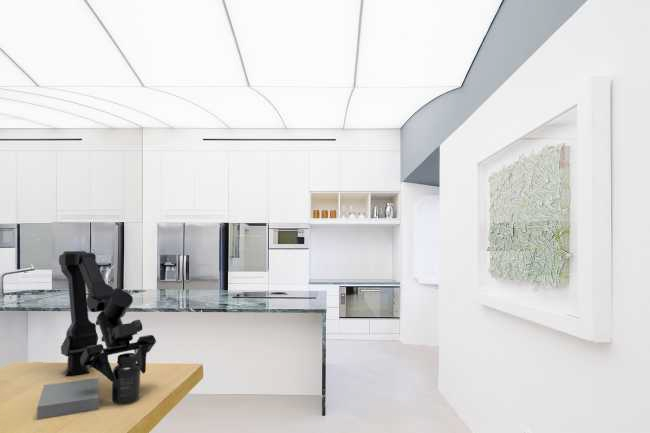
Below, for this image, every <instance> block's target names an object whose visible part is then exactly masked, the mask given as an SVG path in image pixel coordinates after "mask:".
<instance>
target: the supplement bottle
mask: <svg viewBox="0 0 650 433" xmlns="http://www.w3.org/2000/svg"><path fill="white" fill-rule="evenodd" d="M116 363H117V364H116V366H115V367H114V368H113V369H112V372H113V374H114V381H113V382H112V383H111V386H112V387H111V402H112V403H113V404H115V405H127V404H132V403H135V402H136V401H137V400H139V399H140V393H141V370H140V365H139V364H137V354H136V353H135V352H134V353H133V352H125V353H122V354H121V353H120V354H119V355H118V356H117V361H116Z"/></svg>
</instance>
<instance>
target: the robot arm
mask: <svg viewBox="0 0 650 433" xmlns="http://www.w3.org/2000/svg"><path fill="white" fill-rule="evenodd" d="M58 264H59V265H60V269H61V273H62V274H63V275H64V276H65V277H66V279H67V280H68V281H67V285H68V294H69V296H68V297H69V305H70V306H69V307H70V318H71V319H70V322H71V323H70V325H69V327H68V328H67V330H66V332H65V333H66V337H65V339H64V340H63V342H62V343H61V346H60V352H61V353H60V354H61V355H64V356H65V357H67V363H66V364H67V367H66V368H65V372H64V376H65V377H69V376H76V375H85V374H89V373H90V369H92V368H93V369H95V370H96V371H98V372H99V373H101V374H102V375H103V376H105V378H107V380H109V381H110V382H113V381H114V374H113V369H112V366H111V365H110V364H111V363H110V361H109V356H111V355H116V354H121V353H124V352H125V353H126V352H129V351H133V352H134V353H135V354H137V362H136V363H137V364H139V365H140V373H141V374H145V373H146V371H147V369H146V368H147V366H146V365H147V353H149V352H150V351H151V350H152V348H153V347H154V346H155V345H156V344H157V339H156V338H155V336H154V335H153V334H147V335H142V336H139V337H138V339H137V341H135V342H131V341H133V339H134V337H133V336H135V335H138V333H139V332H141V331H142V330H143V329H144V328H143V323H142V321H141V320H140V319H134V320H133V321H131V322H128V323H123V321H122V318H123V317H125V315H126V313H127V312H128V310H129V309H130V307H131V306H132V304H133V302H134V301H133V296H132V295H131V294H130V293H129V292H127V291H124V290H123V288H121V287H118V288H113V287H112V286H111V285H109V284H108V283H106V281H105V279H104V276H103V275H102V272H101V270H100V267H99V265H98V263H97V258H96V254H95V253H94V252H87V251H85V250H75V251H74V250H70V251H69V250H68V251H67V250H65V251H63V253H62V254H60V255H59V257H58ZM87 290H88V295H87ZM89 311H90V313H91V312H92V313H99V314H98V315H97V318H96V322H95V323H94V322H92V321H91V320H90V319H89ZM97 326H99V328H100V332H101V335H102V336H101V338H100V339H101V342H104V344H105V346H106V347H105V348H104V344H102V343H100V344H98V341H99V336H98V332H97ZM130 342H131V343H130Z"/></svg>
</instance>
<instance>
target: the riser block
mask: <svg viewBox="0 0 650 433" xmlns="http://www.w3.org/2000/svg"><path fill="white" fill-rule="evenodd" d="M99 384H100V383H99V378H98V377H97V378H96V377H95V378H89V379H81V380H80V379H79V380H72V381H65V382H58V383H50V384H49V383H48V384H43V387H42V391H41V394H40V398H39V400H38V404H37V407H36V408H37V410H36V420H42V419H48V418H54V417H59V416H66V415H72V414H77V413H78V414H79V413H83V412H84V413H85V412H90V411H97V410H99V409H100V407H99V406H100V404H99V402H100V401H99V400H100V392H99V390H100V389H99V388H100V387H99Z"/></svg>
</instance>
